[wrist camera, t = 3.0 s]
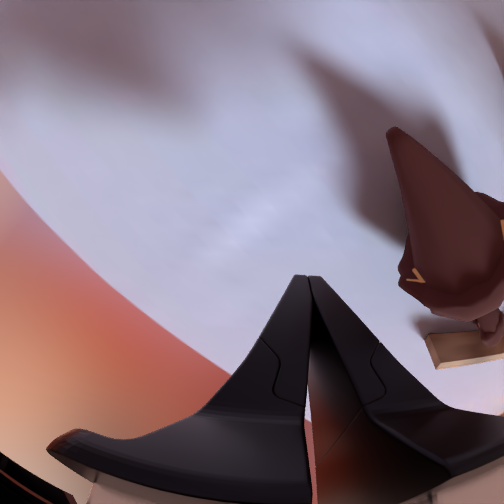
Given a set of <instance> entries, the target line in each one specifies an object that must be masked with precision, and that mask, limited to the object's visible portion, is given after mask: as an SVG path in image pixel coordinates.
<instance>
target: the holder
mask: <svg viewBox="0 0 504 504" xmlns="http://www.w3.org/2000/svg"><path fill="white" fill-rule="evenodd" d="M425 343H426V346H427V348H428V351H429V353H430V356H431V358H432V361H433V363H434V366H435V369H436V370H437V369H445V368H452V367H459V366H465V365H471V364H477V363H483V362H488V361H493V360H498V359H503V358H504V335H503V336H502V338H501V340H500V341H499V342H498V344H497V345H495V346H492V347H488V346H486V345H484V343H483V341H481V338H480V333H479V331H468V332H455V333H439V334H428V336H427V338H426V339H425Z"/></svg>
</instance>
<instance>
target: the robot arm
mask: <svg viewBox="0 0 504 504" xmlns="http://www.w3.org/2000/svg"><path fill="white" fill-rule="evenodd" d="M307 385H308V391H309V401H310V411H311V421H312V432H313V443H314V455H315V466H316V468H315V469H316V483H317V500H318V504H504V417H503V416H495V415H489V414H482V413H476V412H471V411H465V410H460V409H455V408H452V407H449V406H448V405H446V404H444V403H443V402H441V401H440V400H439V399H437V398H436V397H435V396H434V395H433V394H432V393H431V392H430V391H429V390H428V389H427V388H426V387H424V386H423V385H422V384H421V383H420V382H419V381H418V380H417V379H416V378H415V377H414V376H413V375H412V374H411V373H410V372H409V371H408V370H407V369H405V368H404V367H403V366H402V365H401V364H400V363H399V362H398V361H397V360H396V358H395V357H394V356H393V355H392V354H391V353H390V352H389V351H388V350H387V349H386V348H385V346H384V345H383V344H382V343H381V342H380V343H379V340H378V339H377V337H376V336H375V335H374V334H373V333H372V332H371V331H370V330H369V328H368V327H367V326H366V325H365V324H364V323H363V322H362V321H361V320H360V318H359V317H358V316H357V315H356V314H355V313H354V312H353V311H352V310H351V309H350V307H349V306H348V305H347V304H346V303H345V302H344V301H343V300H342V299H341V298H340V296H339V295H338V294H337V293H336V292H335V291H334V290H333V289H332V288H331V287H330V286H329V285H328V283H327V282H326V281H325V280H324V279H323V278H322V277H321V276H308V277H307V276H306V275H294V276H293V278H292V280H291V282H290V284H289V285H288V287H287V289H286V291H285V293H284V294H283V296H282V298H281V300H280V301H279V303H278V305H277V307H276V308H275V310H274V312H273V314H272V315H271V317H270V319H269V321H268V322H267V324H266V326H265V328H264V329H263V331H262V333H261V334H260V336H259V339H257V341H256V343H255V344H254V346H253V348H252V349H251V351H250V352H249V354H248V355H247V357H246V358H245V360H244V361H243V362H242V363H241V365H240V366H239V367H238V368H237V370H236V371H235V372H234V373H233V374H232V376H231V377H230V378H229V379H228V380H227V381H226V383H225V384H224V385H223V386H222V387H221V388H220V389H219V390H218V391H217V392H216V394H215V395H214V396H213V397H212V398H211V399H210V400H209V401H208V402H207V403H206V404H205V405H204V406H203V407H202V408H201V409H200V410H198V411H197V412H196V413H194V414H193V415H191V416H189V417H187V418H185V419H182V420H180V421H178V422H175V423H173V424H171V425H168V426H166V427H164V428H162V429H159V430H156V431H154V432H151V433H149V434H146V435H144V436H141V437H138V438H134V439H113V438H108V437H106V436H103V435H100V434H97V433H94V432H91V431H88V430H83V429H73V430H71V431H69V432H67V433H65V434H63V435H61V436H59V437H57V438H56V439H55V440H53V441H52V442H51V443H50V444H49V446H48V447H47V448H46V450H47V452H48V453H49V454H50V455H51V456H53V457H54V458H55V459H57V460H58V461H60V462H61V463H62V464H64V465H65V466H67V467H68V468H70V469H71V470H73V471H74V472H76V473H77V474H79V475H81V476H82V477H84V478H85V479H87V480H89V481H90V482H92V483H93V484H92V487H91V491H90V494H89V497H88V501H87V504H312V483H311V475H310V467H309V459H308V452H307V444H306V437H305V429H304V417H305V407H306V396H307ZM0 504H77V503H76V501H75V499H74V497H73V495H71V494H69V493H67V492H65V491H63V490H61V489H59V488H57V487H55V486H53V485H52V484H50V483H48V482H46V481H44V480H43V479H41V478H39V477H37V476H36V475H34V474H32V473H31V472H29V471H28V470H26V469H24V468H23V467H21V466H20V465H18V464H17V463H15V462H14V461H12V460H11V459H9V458H8V457H6V456H5V455H4V454H2V453H1V452H0Z"/></svg>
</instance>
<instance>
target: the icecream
mask: <svg viewBox="0 0 504 504" xmlns="http://www.w3.org/2000/svg"><path fill="white" fill-rule="evenodd" d="M386 138H387V141H388V145H389V149H390V153H391V156H392V160H393V163H394V167H395V170H396V174H397V178H398V182H399V186H400V190H401V194H402V199H403V203H404V208H405V213H406V218H407V224H408V229H409V235H408V237H407V240H406V245H405V250H404V254H403V257H402V259H401V261H400V263H399V265H398V271H399V273H400V275H401V276H400V279H399V282H398V285H399V287H401V288H402V289H403V290H404V291H405V292H407V293H408V294H410V295H411V296H413V297H414V298H416V299H417V300H419V301H420V302H421V303H422V304H423V305H424V306H426V307H428V308H429V309H430V310H431V313H432V314H435V315H438V316H444V317H448V318H452V319H456V320H460V321H464V322H470V321H473V323H474V324H477V326H478V330H479V333H480V338H481V341H483V343H484V345H486V346H488V347H492V346H495V345H497V344H498V342H499V341H500V340H501V338H502V336H503V335H504V315H503V313H502V312H501V311H500V310H499V307H500V305H501V304H502V302H503V300H504V202H500V201H497V200H496V199H494V198H492V197H490V196H488V195H486V194H484V193H480V192H474V191H473V190H472V189H471V188H470V187H469V186H468V185H467V184H466V183H465V182H463V181H462V180H461V179H460V178H459V177H458V176H457V175H456V174H455V173H454V172H453V171H451V170H450V169H449V168H448V167H447V166H446V165H445V164H443V163H442V162H441V161H440V160H439V159H438V158H436V157H435V156H434V155H433V154H432V153H431V152H429V151H428V150H427V149H426V148H425V147H423V146H422V145H421V144H420V143H418V142H417V141H416V140H415V139H413V138H412V137H411V136H409V135H408V134H406V133H405V132H404V131H402V130H401V129H399V128H398V127H393V128H391V129H389V130H388V131H387V133H386Z"/></svg>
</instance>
